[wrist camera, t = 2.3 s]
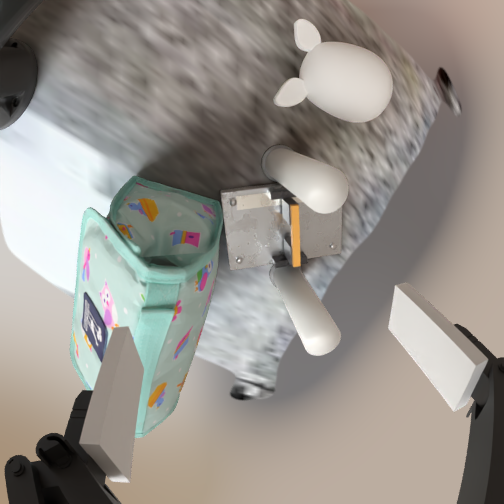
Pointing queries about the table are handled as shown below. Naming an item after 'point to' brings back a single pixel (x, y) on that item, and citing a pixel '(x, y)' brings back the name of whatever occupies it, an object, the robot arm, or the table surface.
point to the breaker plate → (274, 227)
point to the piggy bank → (337, 78)
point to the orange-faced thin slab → (292, 231)
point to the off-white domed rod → (306, 178)
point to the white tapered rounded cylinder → (306, 310)
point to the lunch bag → (146, 287)
